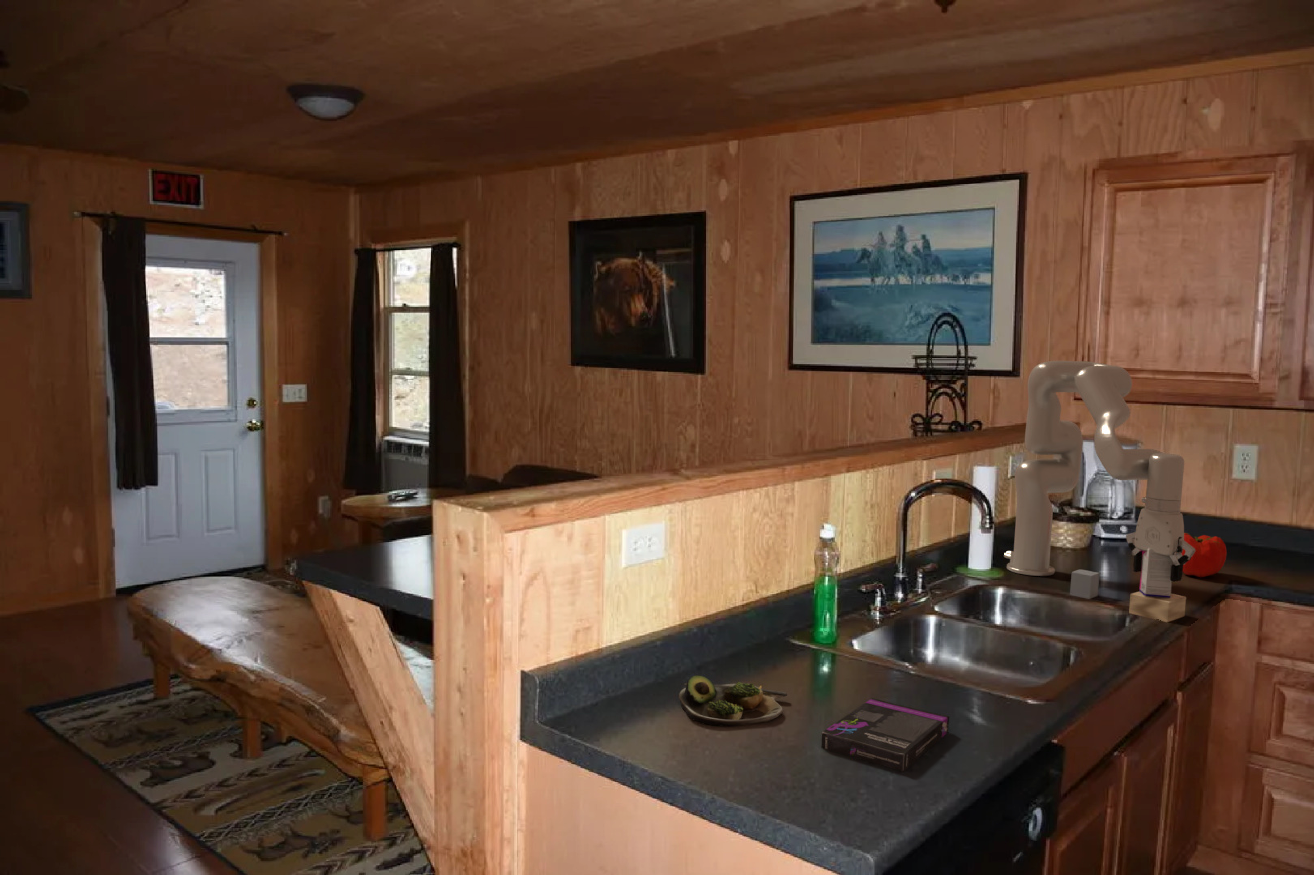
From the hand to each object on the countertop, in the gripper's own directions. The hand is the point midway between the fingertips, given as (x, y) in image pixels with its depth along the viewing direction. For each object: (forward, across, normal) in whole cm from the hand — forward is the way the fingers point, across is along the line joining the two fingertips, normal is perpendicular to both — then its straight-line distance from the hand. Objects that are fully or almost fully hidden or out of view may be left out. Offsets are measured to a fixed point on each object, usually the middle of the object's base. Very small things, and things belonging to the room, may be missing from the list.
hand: (1156, 576), depth 239 cm
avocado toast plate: (+10, +7, -126) cm, 127 cm away
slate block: (+10, -19, -1) cm, 21 cm away
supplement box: (+5, 0, 0) cm, 5 cm away
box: (+10, +30, -110) cm, 114 cm away
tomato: (+10, -21, +49) cm, 54 cm away
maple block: (+10, 0, 0) cm, 10 cm away
